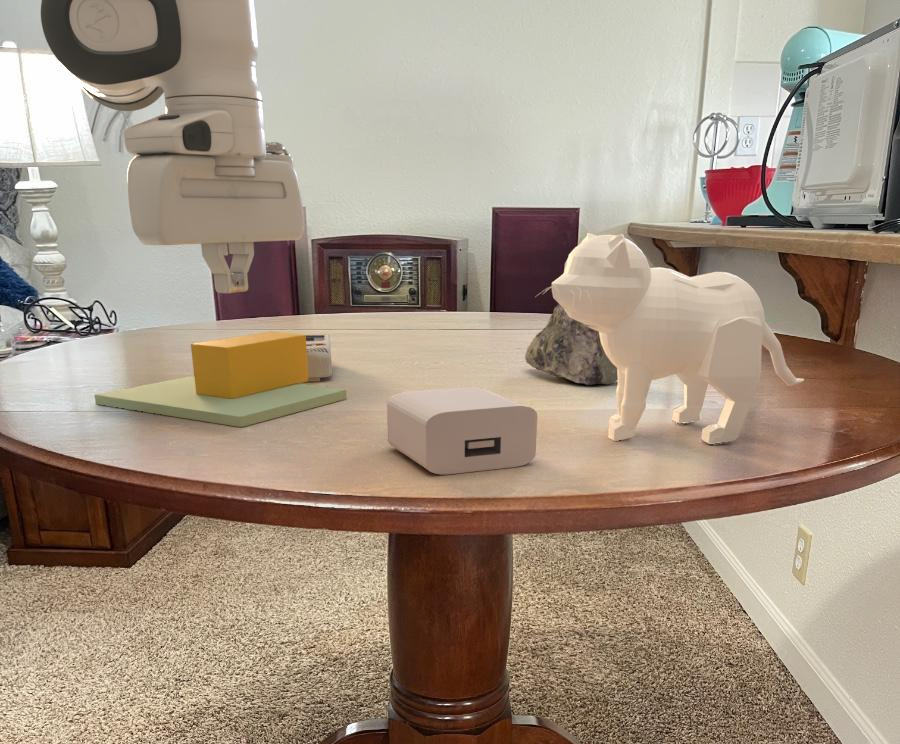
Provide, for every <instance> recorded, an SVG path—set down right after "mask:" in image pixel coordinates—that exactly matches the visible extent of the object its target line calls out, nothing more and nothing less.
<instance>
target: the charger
mask: <svg viewBox="0 0 900 744" xmlns="http://www.w3.org/2000/svg"><path fill="white" fill-rule="evenodd" d="M386 421H387V423H386V425H387V427H386V428H387V429H386V430H387V441H388V444H389V445H390V446H391V447H392V448H395V449H396V450H397V451H399V452H400V453H402V454H403V455H405V456H406V457H408V458H409V459H411V460H412V461H413V462H415V463H416V464H418V465H419V466H421V467H423V468H424V469H425V470H427V471H429V472H430V473H432V474H435V475H445V476H446V475H453V474H465V473H473V472H474V473H475V472H482V471H491V470H500V469H509V468H517V467H522V466H525V465H527V464H529V463H531V462H532V461H533V460H534V459H535V457H536V454H537V433H538V432H537V431H538V413H537V411H536V410H535V409H534V408H532V407H530V406H527V405H525V404H523V403H521V402H517V401H515V400H513V399H510V398H507V397H505V396H503V395H500V394H498V393H495V392H493V391H491V390H489V389H487V388H486V389H485V388H483V387H479V386H463V387H462V386H461V387H449V388H448V387H447V388H434V389H422V390H407V391H401V392H398V393H395V394H393V395H391V396H390V397H389V398H388V399H387V401H386Z"/></svg>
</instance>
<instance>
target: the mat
mask: <svg viewBox="0 0 900 744" xmlns="http://www.w3.org/2000/svg"><path fill="white" fill-rule="evenodd" d="M347 396H348V395H347V389H345V388H339V387H330V386H329V387H328V386H321V385H314V384H313V385H312V384H304V383H299V384H294V385H290V386H286V387H281V388H277V389H273V390H268V391H264V392H260V393H255V394H251V395H247V396H242V397H238V398H234V399H229V398H222V397H215V396H207V395H200V394H196V387H195V378H194V375H188V376H183V377H178V378H174V379H169V380H162V381H157V382H153V383H147V384H143V385H137V386H131V387H127V388H122V389H117V390H111V391H106V392H101V393H96V394H95V393H94V400H95V405H97V404H100V405H99V406H103V405H106V406H105V407H110V406H111V407H110V408H116V407H118V408H117V409H122V408H124V409H123V410H130V411H135V410H137V411H136V412H141V411H143V412H142V413H149V414H154V413H155V414H154V415H160V414H161V415H162V416H166V417H167V416H168V417H174V418H179V419H185V420H186V419H187V420H193V421H199V422H206V423H213V424H219V425H223V426H232V427H238V428H245V427H248V426H252V425H255V424H259V423H262V422H267V421H270V420H274V419H279V418H281V417H285V416H288V415H293V414H296V413H299V412H303V411H307V410H311V409H314V408H318V407H321V406H326V405H330V404H332V403H336V402H340V401H344V400H347Z"/></svg>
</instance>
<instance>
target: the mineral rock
mask: <svg viewBox="0 0 900 744" xmlns="http://www.w3.org/2000/svg"><path fill="white" fill-rule="evenodd" d="M524 359H525V362H526V364H528V365H530V366H531V367H532V368H534V369H535V370H537V371H542V372H545V373H548V374H550V375H551V376H554V377H557V378H560V377H562V378H565V379H566V380H569V381H571V382H573V383H575V384H580V385H586V386H591V385H607V384H608V385H611V384H613V383H615V382H616V381H618V374H617V367H616V366H615V365H614V364H612V363H611V361H610V360H609V358H608V357H607V355H606V354H605V352H604V349H603V347H602V344H601V341H600V335H599V332H598V331H596V330H594V329H591V328H589V327H587V326H584V325H583V323H581V322H578V321H576V320H574V319H572V318H570V317H569V316H568V314H567V313H566V311H565V310H564V308H563V307H562V306H561V305H560V304H559V303H558V304H557V305H556V306H555V307H554V309H553V313H552V314H551V315H550V317H549V319H548V321H547V324H546V325H545V327H544V328H543V329H542V330H540V331H538V332H537V333H536V335H535V336H534V337H533V339H532V341H531V342H530V344H529V345H528V347H526V351H525V354H524Z"/></svg>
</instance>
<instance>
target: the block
mask: <svg viewBox="0 0 900 744" xmlns="http://www.w3.org/2000/svg"><path fill="white" fill-rule="evenodd" d="M306 335H307V334H304V333H291V332H281V331H265V332H259V333H253V334H247V335H240V336H233V337H226V338H221V339H214V340H208V341H207V340H206V341H201V342H200V341H199V342H195V343H194V342H193V343H190V350H191V358H192V369H193V376H194V378H195V387H196V394H200V395H207V396H215V397H222V398H229V399H234V398H238V397H242V396H247V395H251V394H255V393H260V392H264V391H268V390H273V389H277V388H281V387H286V386H290V385H294V384H304V383H306V382H307V381H308V365H307V348H306Z"/></svg>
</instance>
